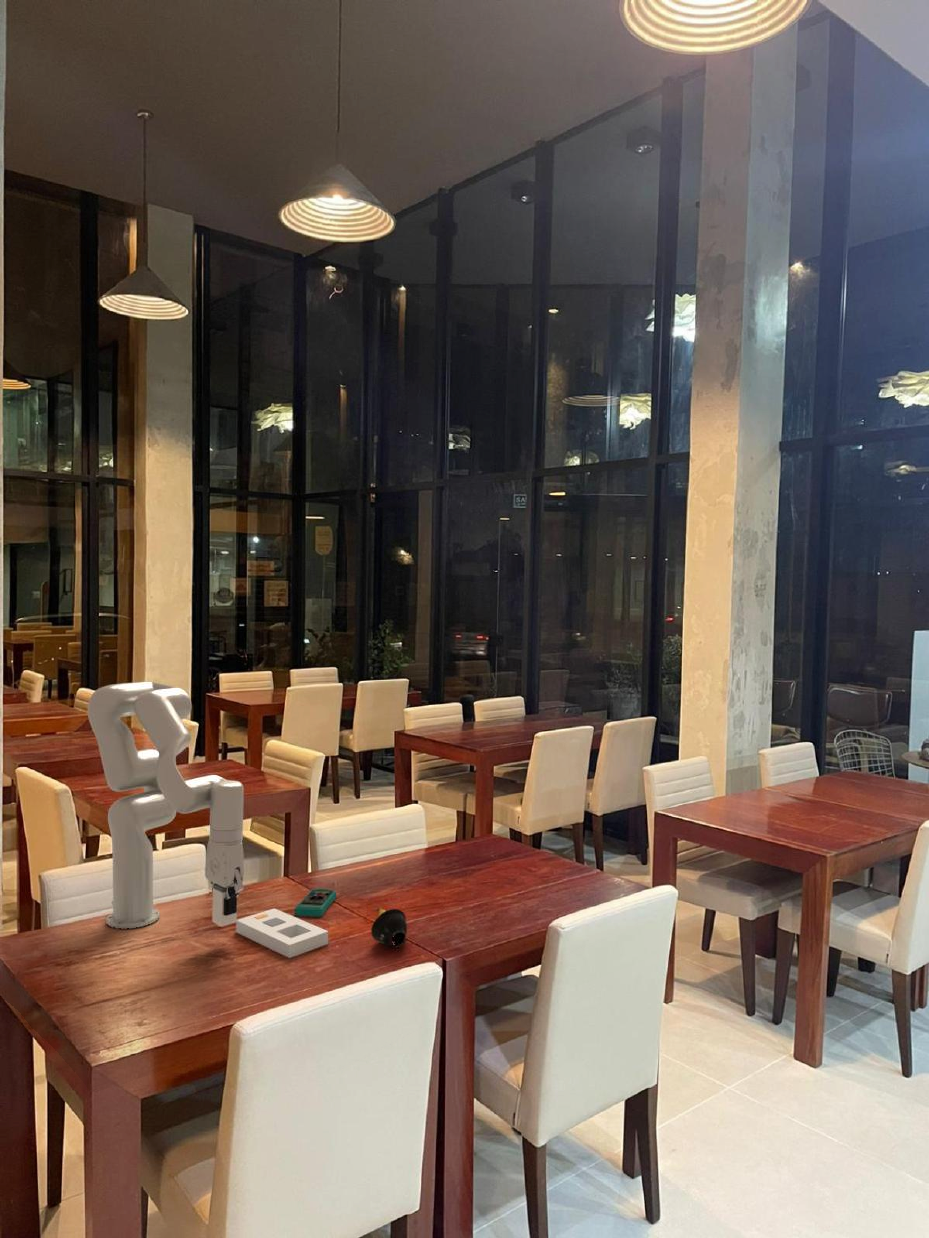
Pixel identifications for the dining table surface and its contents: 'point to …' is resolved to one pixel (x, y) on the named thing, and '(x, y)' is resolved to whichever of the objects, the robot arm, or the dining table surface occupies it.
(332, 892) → the digital multimeter
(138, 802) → the robot arm
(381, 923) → the fried shrimp in bowl
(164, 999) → the dining table surface
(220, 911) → the plug
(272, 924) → the power strip
